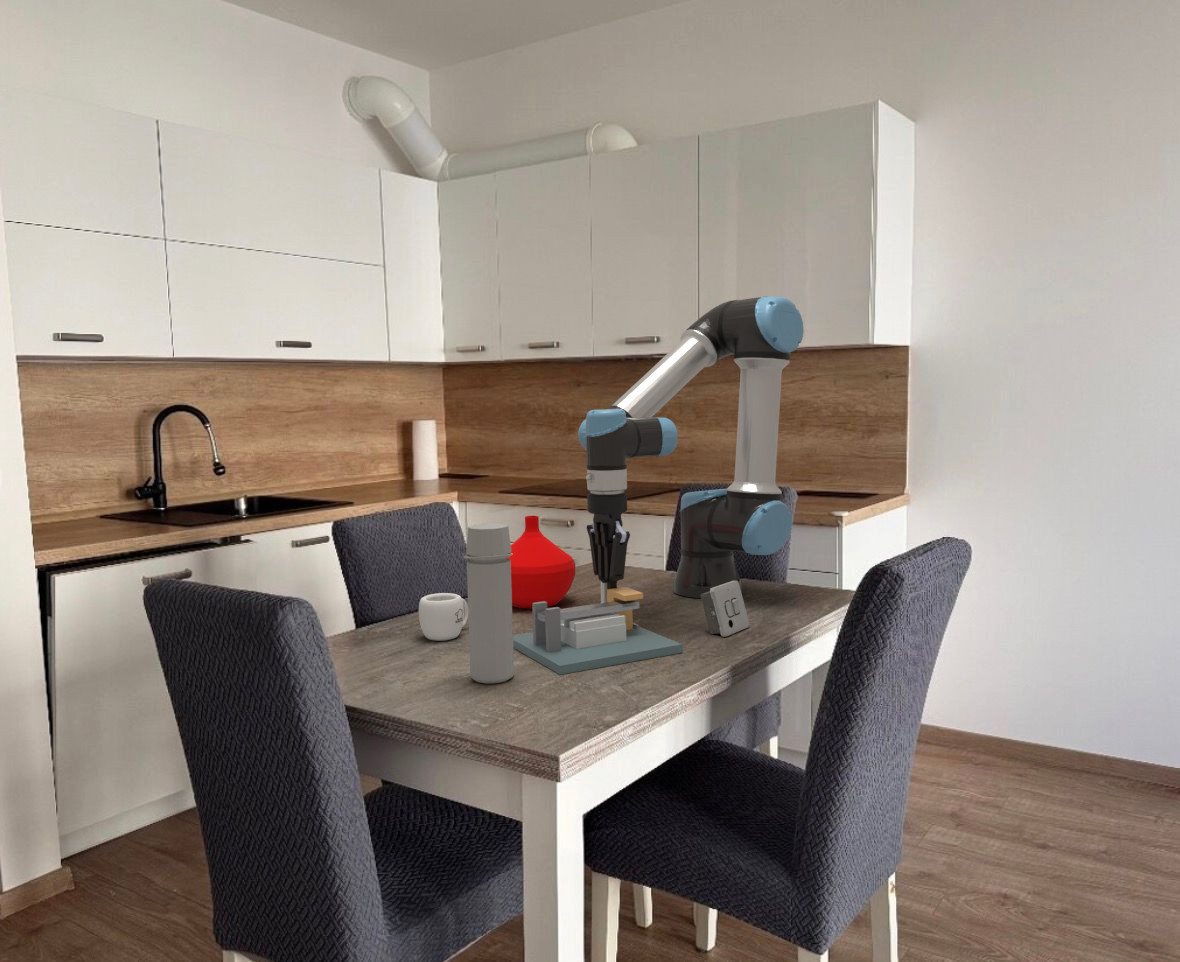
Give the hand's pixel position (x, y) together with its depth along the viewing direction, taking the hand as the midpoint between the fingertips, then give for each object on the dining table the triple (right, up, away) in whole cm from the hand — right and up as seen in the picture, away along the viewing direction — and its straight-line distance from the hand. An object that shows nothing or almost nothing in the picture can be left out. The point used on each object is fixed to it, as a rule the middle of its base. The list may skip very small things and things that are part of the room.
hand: (609, 614), depth 183 cm
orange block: (+3, -2, -5) cm, 6 cm away
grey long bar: (-4, +2, -11) cm, 12 cm away
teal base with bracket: (-3, -5, -10) cm, 12 cm away
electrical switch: (+22, -3, 0) cm, 22 cm away
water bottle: (-20, -7, -26) cm, 33 cm away
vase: (-16, -1, +26) cm, 30 cm away
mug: (-31, -4, +1) cm, 31 cm away
